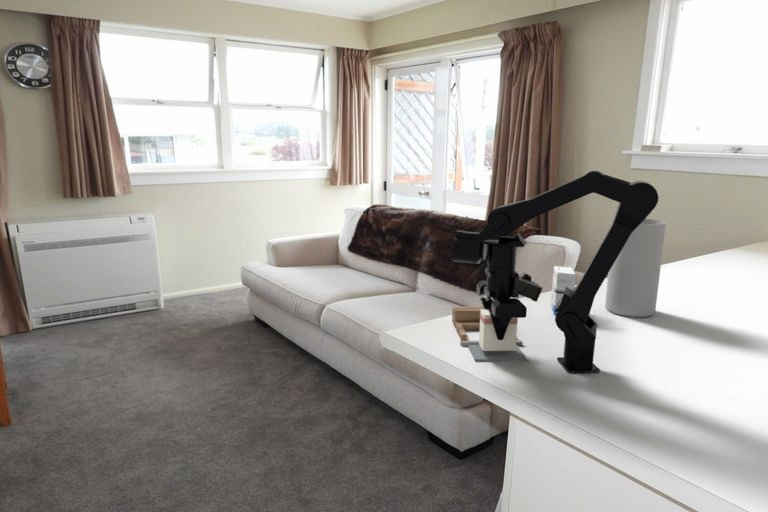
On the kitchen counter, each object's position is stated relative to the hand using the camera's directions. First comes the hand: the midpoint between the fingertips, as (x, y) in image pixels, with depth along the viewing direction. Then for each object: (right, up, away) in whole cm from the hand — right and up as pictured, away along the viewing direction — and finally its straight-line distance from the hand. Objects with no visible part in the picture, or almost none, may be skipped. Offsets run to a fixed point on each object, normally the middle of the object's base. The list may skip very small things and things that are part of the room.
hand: (497, 336), depth 110 cm
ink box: (+24, +2, +30) cm, 39 cm away
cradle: (0, -1, +13) cm, 13 cm away
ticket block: (0, -2, +1) cm, 2 cm away
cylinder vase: (+43, +2, +30) cm, 53 cm away
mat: (0, -4, +1) cm, 4 cm away
